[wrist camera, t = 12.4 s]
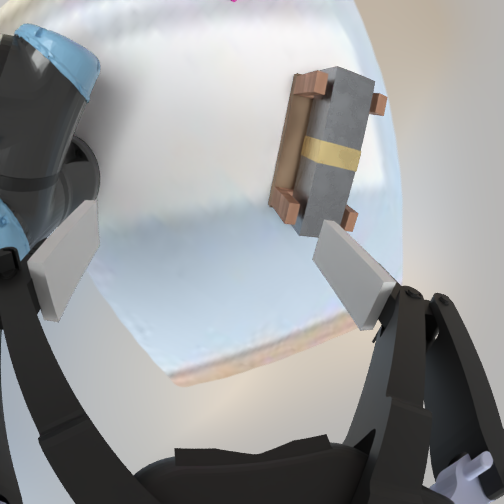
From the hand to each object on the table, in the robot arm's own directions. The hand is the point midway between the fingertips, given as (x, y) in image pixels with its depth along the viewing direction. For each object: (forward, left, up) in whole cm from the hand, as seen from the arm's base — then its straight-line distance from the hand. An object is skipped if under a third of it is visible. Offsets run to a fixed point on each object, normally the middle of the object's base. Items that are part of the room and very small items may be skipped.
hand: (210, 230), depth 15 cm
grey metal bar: (+17, +4, -25) cm, 31 cm away
